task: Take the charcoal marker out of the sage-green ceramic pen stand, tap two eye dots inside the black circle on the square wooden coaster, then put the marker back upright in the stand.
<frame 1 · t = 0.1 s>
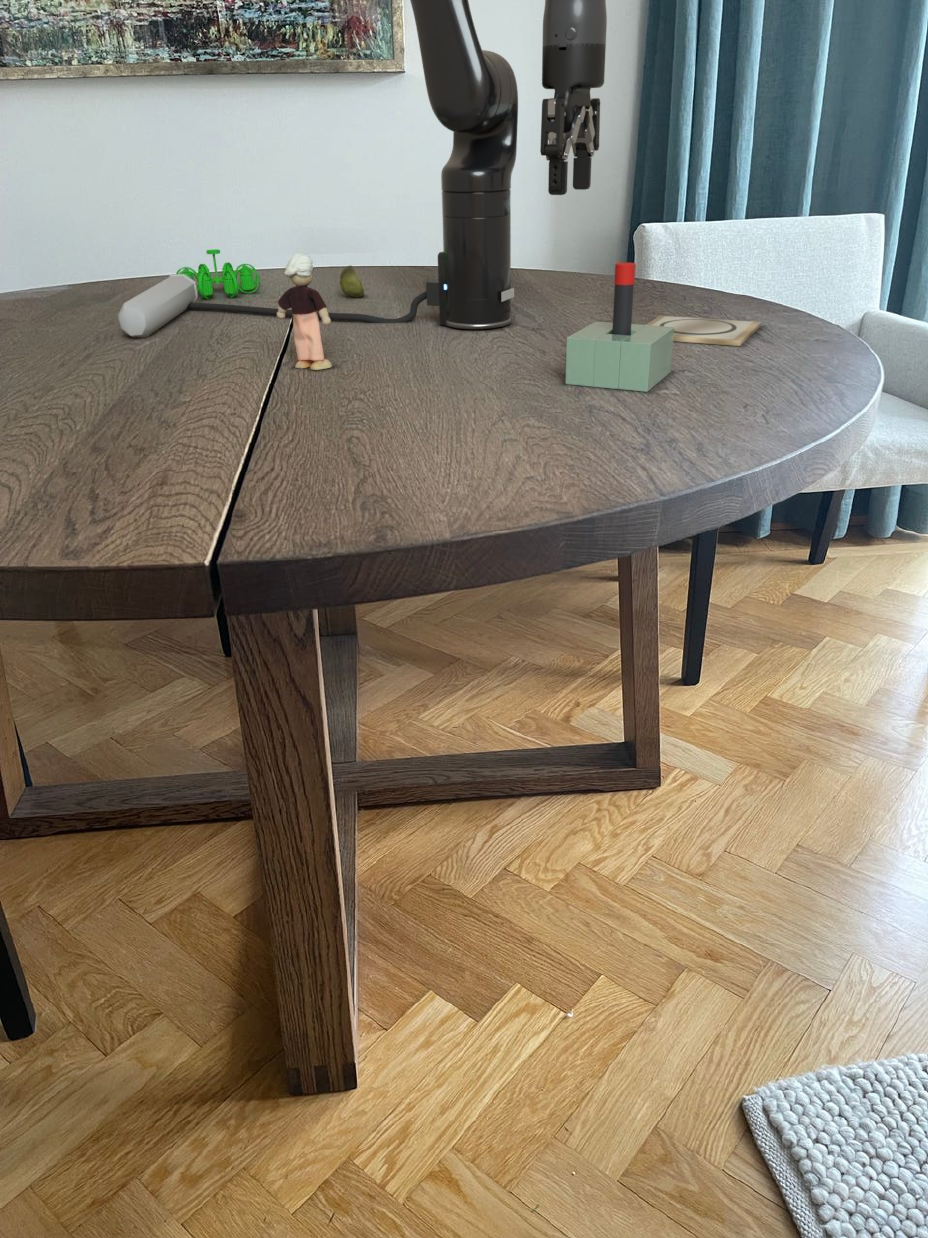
hand: (569, 191, 118), 17 cm above the table, tool pointing down, fingers open, 8 cm apart
marker: (618, 378, 103), resting in pen stand
pen stand: (619, 378, 103), on the table
grandmother figurine: (309, 367, 112), on the table
square wooden coaster: (697, 332, 124), on the table
tube: (161, 323, 138), on the table
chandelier: (219, 294, 160), on the table
lime: (354, 298, 154), on the table
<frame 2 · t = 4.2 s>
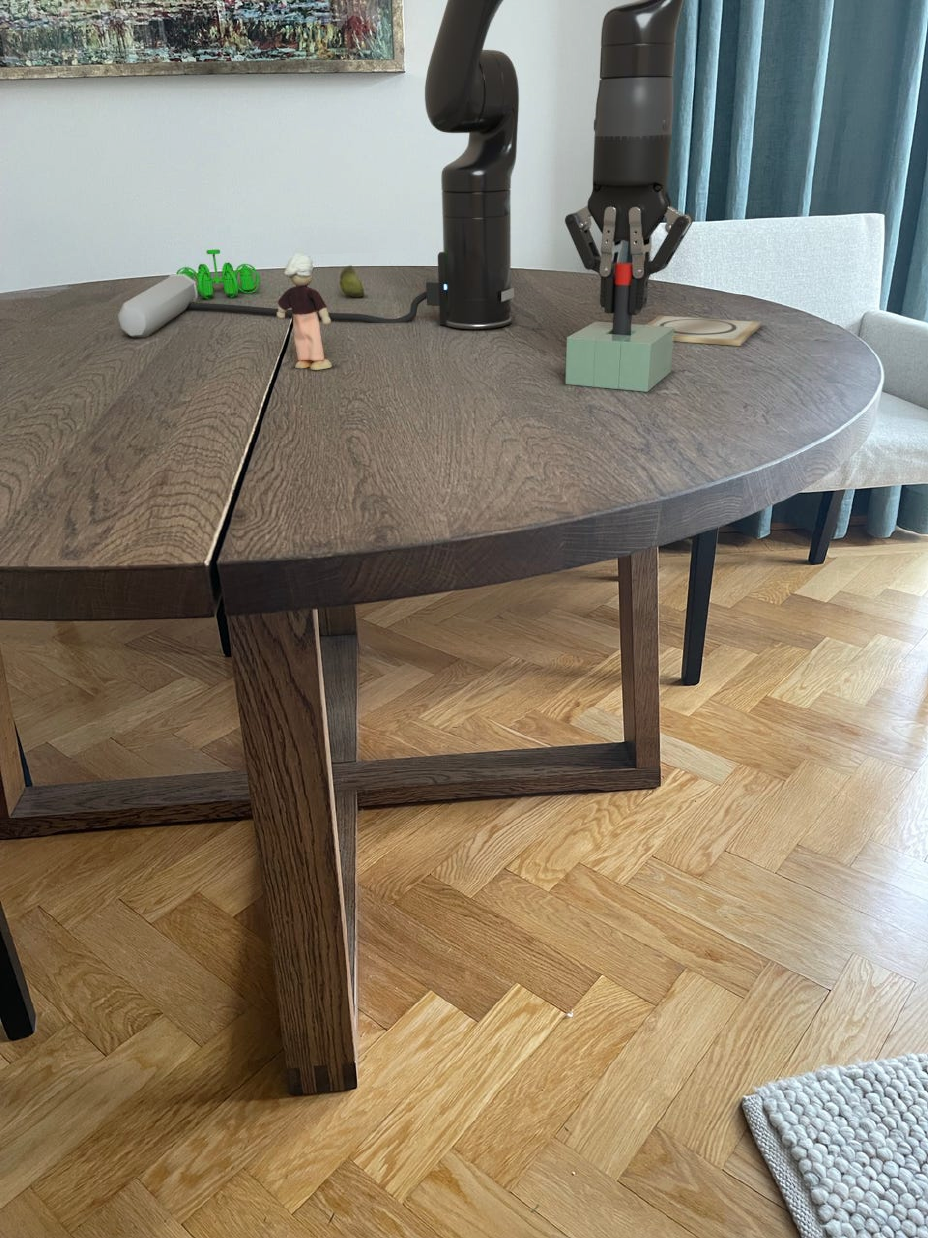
hand: (622, 312, 100), 7 cm above the table, tool pointing down, fingers closed on marker, 2 cm apart
marker: (618, 378, 103), resting in pen stand, touching gripper
everything else where it was.
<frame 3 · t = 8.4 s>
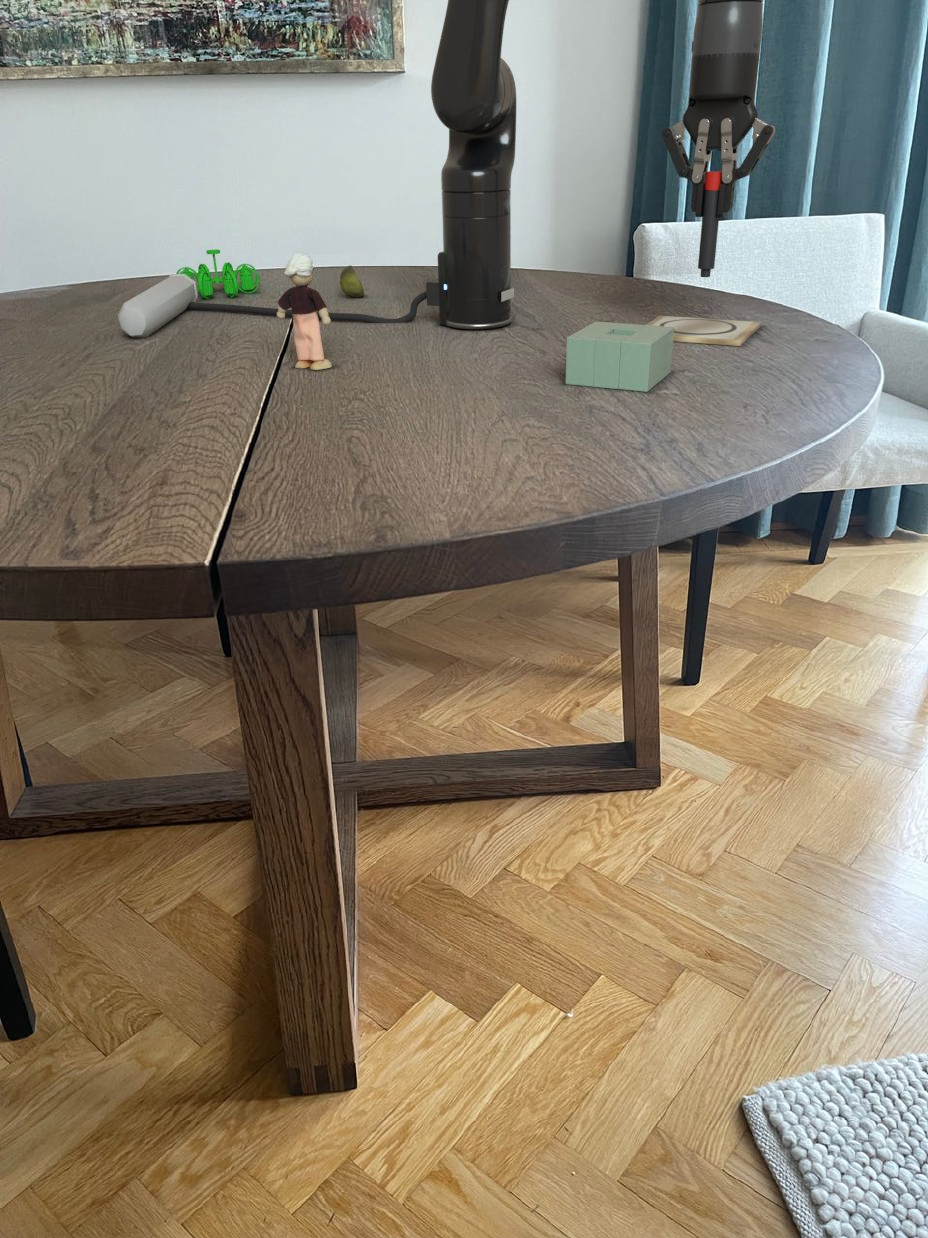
hand: (710, 215, 114), 15 cm above the table, tool pointing down, fingers closed on marker
marker: (705, 276, 117), point 7 cm above the table, touching gripper
everything else where it was.
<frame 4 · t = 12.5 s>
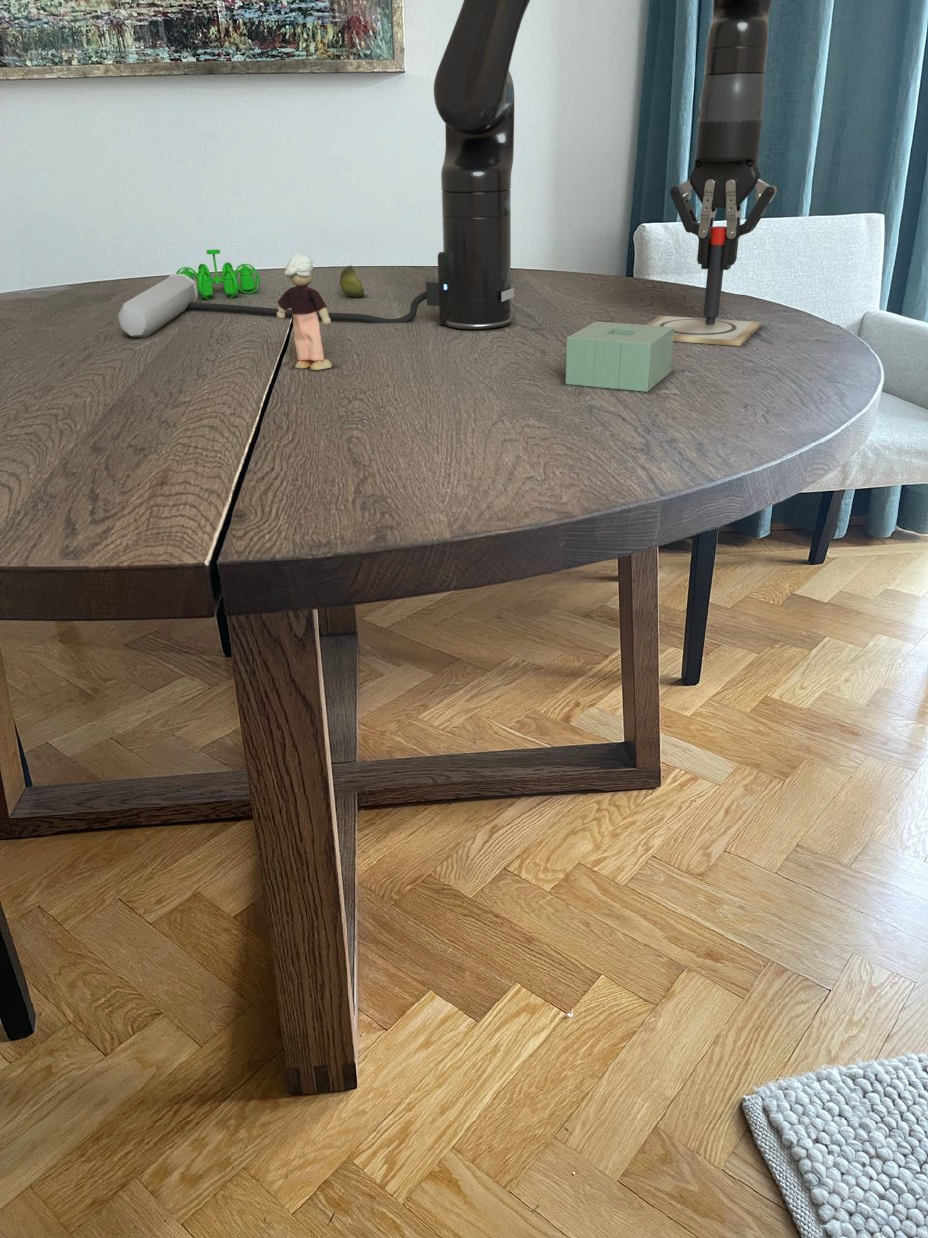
hand: (715, 267, 121), 8 cm above the table, tool pointing down, fingers closed on marker, 2 cm apart
marker: (710, 323, 124), point 1 cm above the table, touching square wooden coaster, gripper
everything else where it was.
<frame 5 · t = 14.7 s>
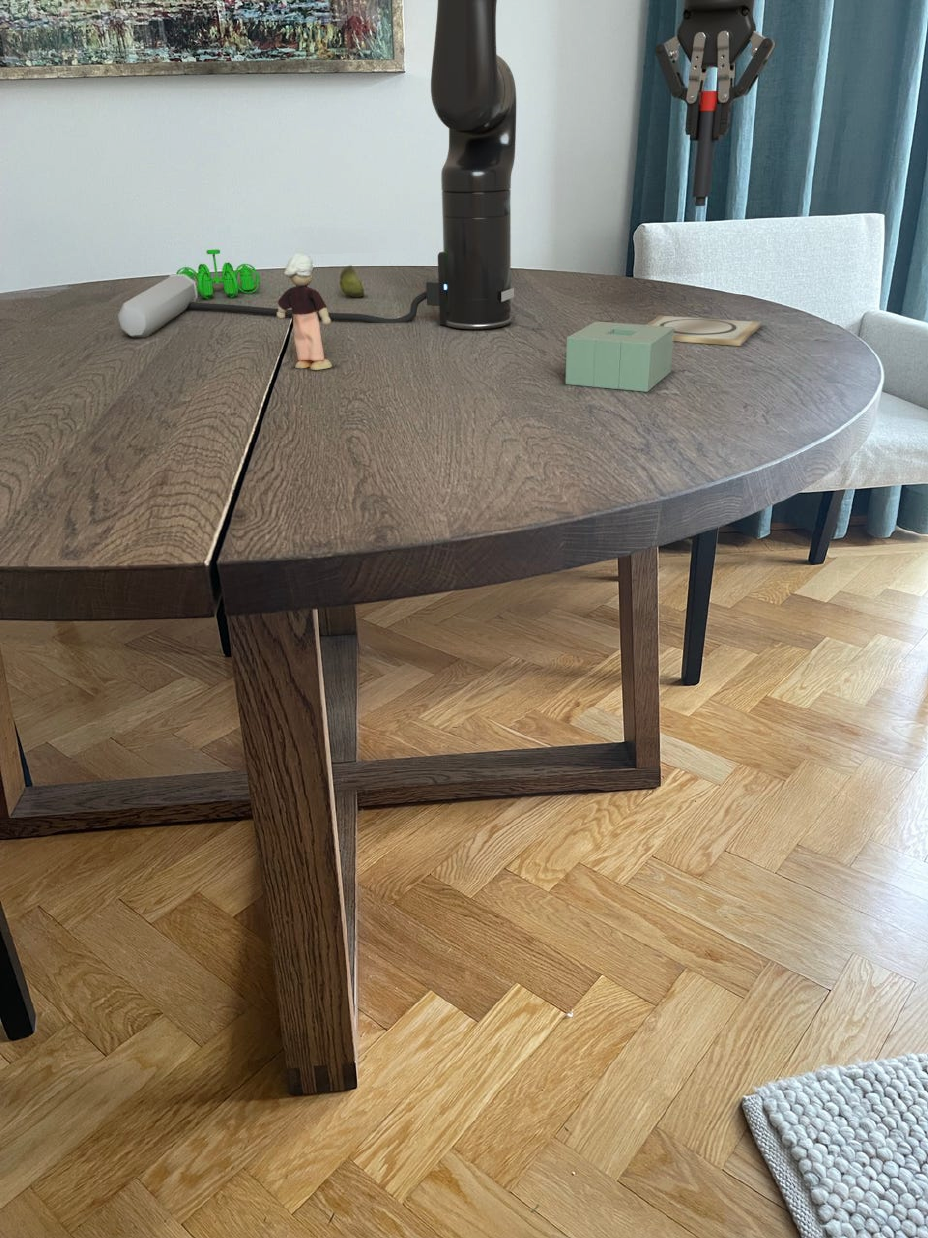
hand: (705, 139, 108), 23 cm above the table, tool pointing down, fingers closed on marker
marker: (699, 205, 112), point 16 cm above the table, touching gripper
everything else where it was.
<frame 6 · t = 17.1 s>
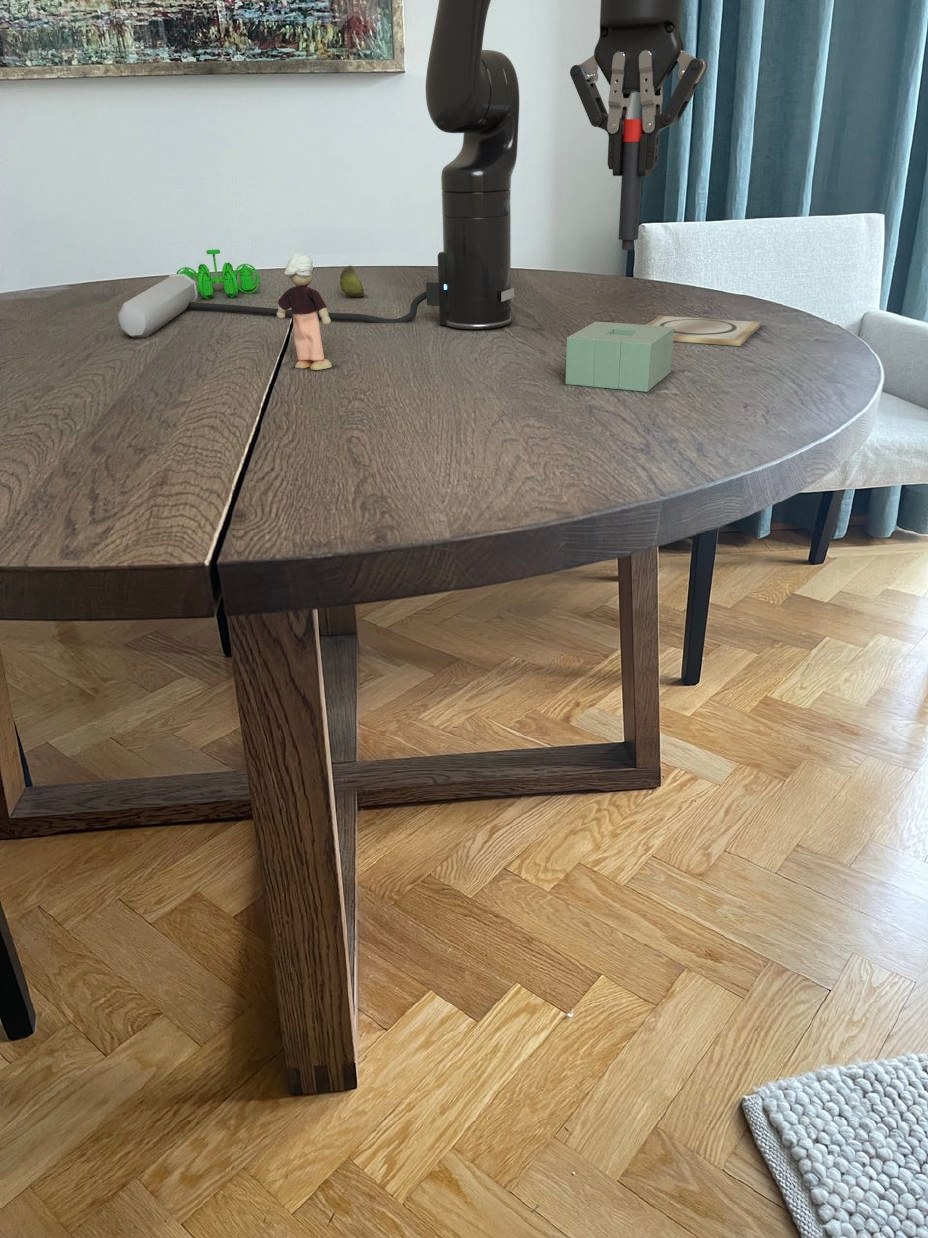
hand: (631, 174, 94), 20 cm above the table, tool pointing down, fingers closed on marker
marker: (627, 249, 97), point 13 cm above the table, touching gripper
everything else where it was.
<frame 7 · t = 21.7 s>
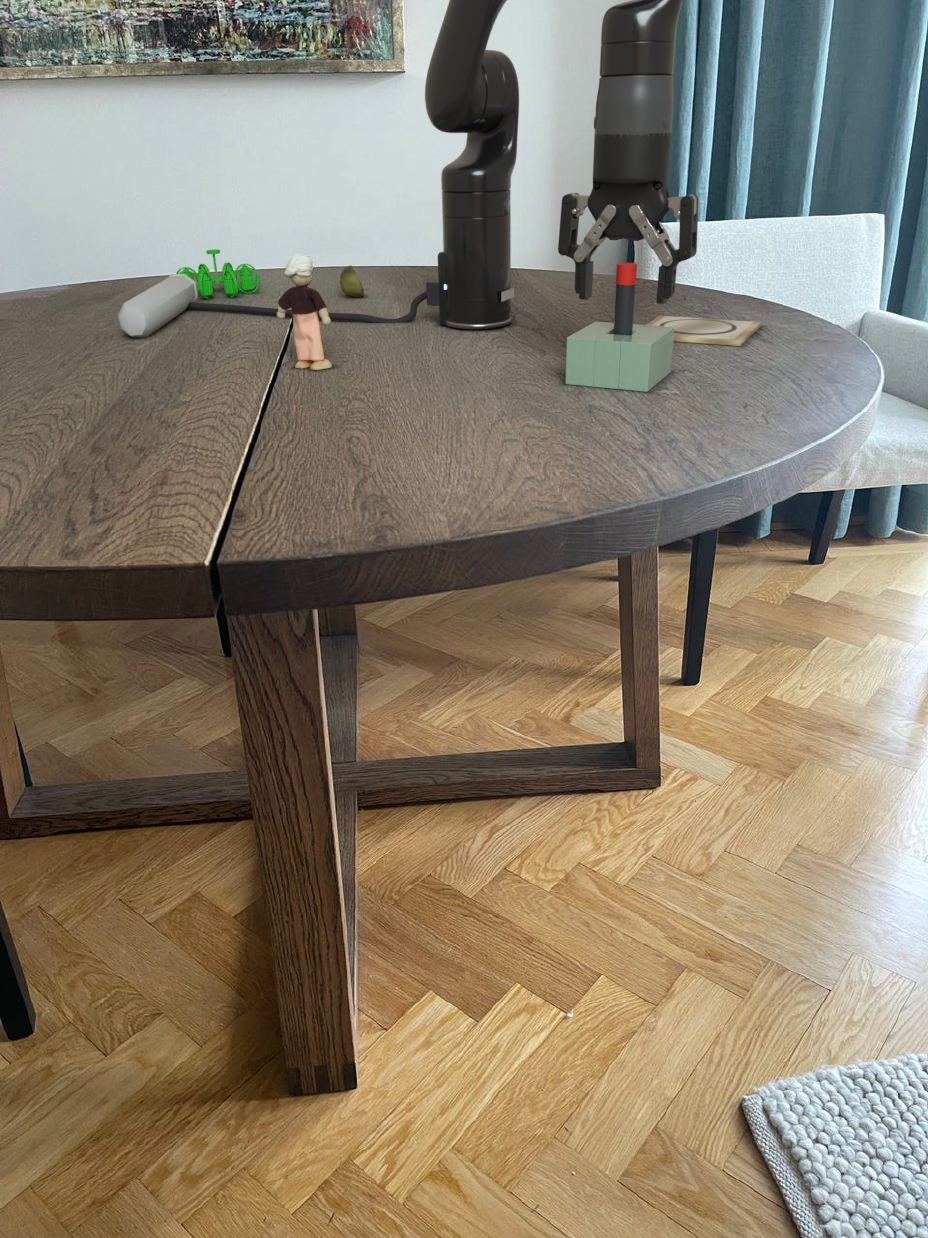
hand: (623, 300, 99), 8 cm above the table, tool pointing down, fingers open, 8 cm apart
marker: (620, 378, 103), resting in pen stand
everything else where it was.
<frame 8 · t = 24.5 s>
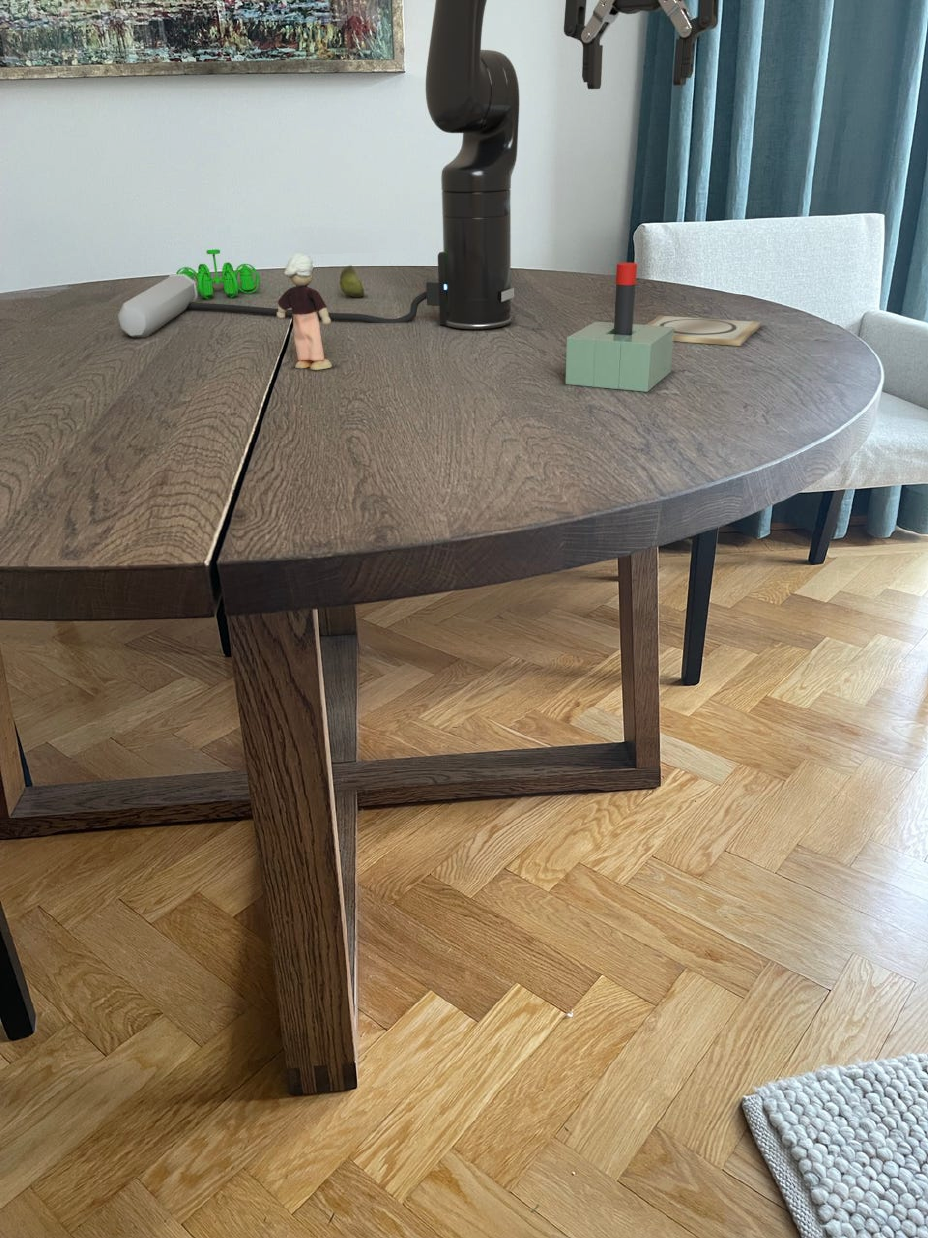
hand: (635, 87, 90), 28 cm above the table, tool pointing down, fingers open, 8 cm apart
nothing on the table moved.
at the end: marker 0.2 cm off-centre in the pen stand, point 0.0 cm above the pen stand's base; marker tilted 0°; marker touching table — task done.
